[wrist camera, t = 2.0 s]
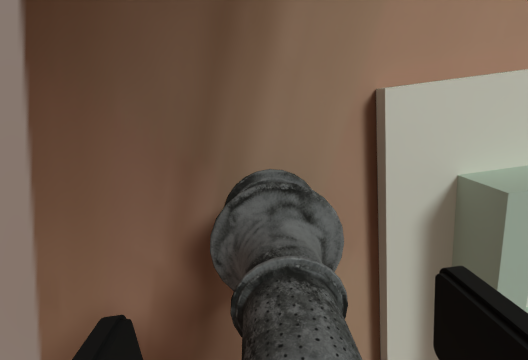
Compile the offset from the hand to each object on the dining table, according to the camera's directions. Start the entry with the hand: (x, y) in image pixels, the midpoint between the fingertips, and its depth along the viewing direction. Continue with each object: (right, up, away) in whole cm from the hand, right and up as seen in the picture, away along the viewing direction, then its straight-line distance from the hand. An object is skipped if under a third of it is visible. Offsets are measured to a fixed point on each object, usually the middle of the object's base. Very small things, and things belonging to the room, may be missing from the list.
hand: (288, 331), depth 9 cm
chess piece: (0, +3, +7) cm, 8 cm away
